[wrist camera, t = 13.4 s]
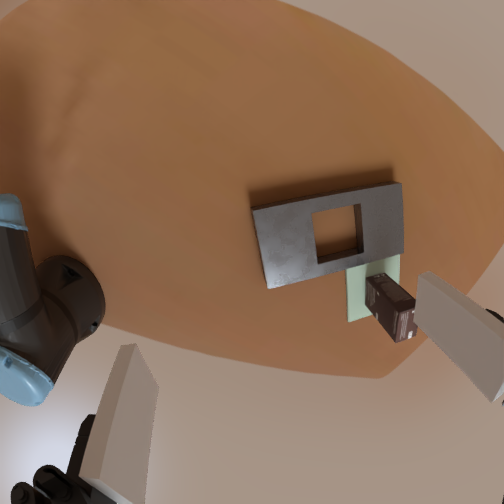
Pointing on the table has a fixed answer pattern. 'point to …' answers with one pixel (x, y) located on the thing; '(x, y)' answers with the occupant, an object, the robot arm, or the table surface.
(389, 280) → the box
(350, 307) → the pad
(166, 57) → the table surface
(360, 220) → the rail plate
